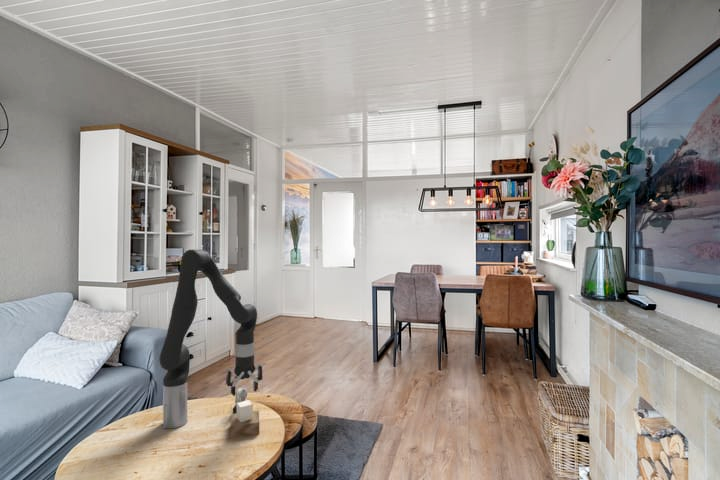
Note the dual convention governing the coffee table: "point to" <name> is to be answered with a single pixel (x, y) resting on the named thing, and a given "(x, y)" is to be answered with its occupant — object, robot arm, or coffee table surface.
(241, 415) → the cream block
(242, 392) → the watch
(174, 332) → the robot arm
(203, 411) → the coffee table surface
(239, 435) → the walnut block
